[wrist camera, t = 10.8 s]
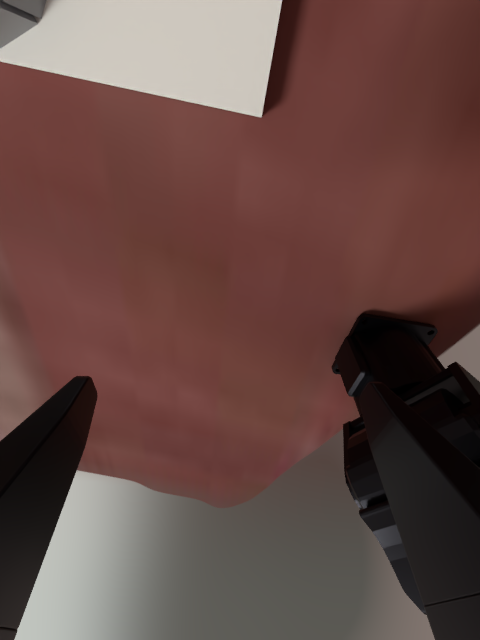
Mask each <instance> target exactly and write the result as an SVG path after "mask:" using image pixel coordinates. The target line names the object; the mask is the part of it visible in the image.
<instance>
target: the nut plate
mask: <svg viewBox="0 0 480 640" xmlns="http://www.w3.org/2000/svg"><path fill="white" fill-rule="evenodd" d="M281 5H282V0H0V61H1V62H5V63H10V64H15V65H19V66H24V67H29V68H33V69H38V70H43V71H47V72H52V73H57V74H61V75H66V76H71V77H75V78H80V79H85V80H89V81H94V82H99V83H103V84H108V85H112V86H117V87H122V88H126V89H131V90H136V91H140V92H145V93H150V94H154V95H159V96H164V97H168V98H173V99H178V100H182V101H187V102H192V103H196V104H201V105H206V106H210V107H215V108H220V109H224V110H229V111H234V112H238V113H243V114H248V115H252V116H257V117H262V112H263V107H264V101H265V95H266V90H267V84H268V78H269V73H270V67H271V61H272V56H273V50H274V44H275V39H276V33H277V27H278V22H279V16H280V10H281Z"/></svg>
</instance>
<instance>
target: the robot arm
mask: <svg viewBox="0 0 480 640" xmlns="http://www.w3.org/2000/svg"><path fill="white" fill-rule="evenodd" d="M365 319H367V320H366V321H364V322H362V321H363V320H365ZM430 330H431V331H430ZM437 332H438V330H437V329H436V328H435V326H434V325H430V324H424V323H418V322H412V321H406V320H400V319H394V318H388V317H382V316H375V315H369V314H362V315H360V316H359V317H358V318H357V320H356V322H355V324H354V325H353V327H352V329H351V331H350V333H349V335H348V336H347V337H346V338H345V340H344V342H343V344H342V345H341V347H340V349H339V351H338V353H337V355H336V357H335V361H334V363H333V365H332V370H333V372H334V373H335V374H341V377H342V380H343V383H344V386H345V388H346V391H347V394H348V395H349V396H351V397H353V398H354V400H355V403H356V406H357V409H358V411H359V414H360V417H359V418H357V419H355V420H353V421H351V422H350V421H349V422H347V423H345V424H343V436H344V471H345V478H346V483H347V486H348V487H349V490H350V492H351V495H352V496H353V498H354V500H355V502H356V504H357V505H358V507H359V508H360V510H359V514H360V516H361V518H362V519H363V520H364V522H365V523H366V524H367V525H368V527H369V528H370V529H371V530H372V532H373V533H374V535H375V536H376V538H377V540H378V541H379V543H380V544H381V546H382V548H383V549H384V551H385V553H386V555H387V557H388V559H389V561H390V563H391V565H392V567H393V569H394V571H395V573H396V576H397V578H398V580H399V582H400V584H401V586H402V588H403V590H404V592H405V593H406V594H407V595H408V596H409V598H410V599H411V600H412V601H413V602H414V603H415V604H416V606H417V607H418V608H419V609H420V610H421V611H422V612H423V613H424V614H426V615H427V617H428V620H429V623H430V626H431V629H432V632H433V635H434V638H435V640H480V382H479V381H478V380H477V379H476V378H475V377H473V376H472V375H471V374H470V373H469V372H468V371H466V370H465V369H464V368H463V367H462V366H461V365H459V364H458V363H457V362H454V363H452V364H451V365H449V366H448V368H447V369H445V368H444V367H443V365H442V364H441V363H440V361H439V360H438V359H437V357H436V356H435V355H434V354H433V352H432V351H431V350H430V348H429V347H428V344H429V343H430V342H431V340H432V339H433V338H434V336H435V335H436V334H437ZM337 368H338V369H337ZM96 401H97V391H96V388H95V386H94V383H93V380H92V378H91V377H89V376H76V377H74V378H73V379H72V380H71V381H69V382H68V383H67V384H66V385H65V386H64V387H63V388H61V389H60V390H59V391H58V392H57V393H56V394H54V395H53V396H52V397H51V398H50V399H49V400H47V401H46V402H45V403H44V404H43V405H42V406H41V407H39V408H38V409H37V410H36V411H35V412H34V413H32V414H31V415H30V416H29V417H28V418H27V419H26V420H24V421H23V422H22V423H21V424H20V425H19V426H17V427H16V428H15V429H14V430H13V431H12V432H11V433H9V434H8V435H7V436H6V437H5V438H4V439H2V440H1V441H0V640H14V639H15V636H16V633H17V628H18V627H19V625H20V622H21V619H22V617H23V614H24V611H25V608H26V606H27V603H28V600H29V598H30V594H31V592H32V589H33V587H34V584H35V581H36V579H37V576H38V573H39V570H40V568H41V565H42V562H43V560H44V557H45V554H46V551H47V549H48V546H49V543H50V541H51V538H52V535H53V532H54V530H55V527H56V524H57V522H58V519H59V516H60V514H61V511H62V508H63V506H64V502H65V500H66V497H67V495H68V492H69V489H70V486H71V484H72V481H73V478H74V476H75V473H76V470H77V468H78V465H79V462H80V460H81V457H82V454H83V451H84V448H85V445H86V441H87V438H88V433H89V429H90V425H91V421H92V417H93V413H94V409H95V405H96Z"/></svg>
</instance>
